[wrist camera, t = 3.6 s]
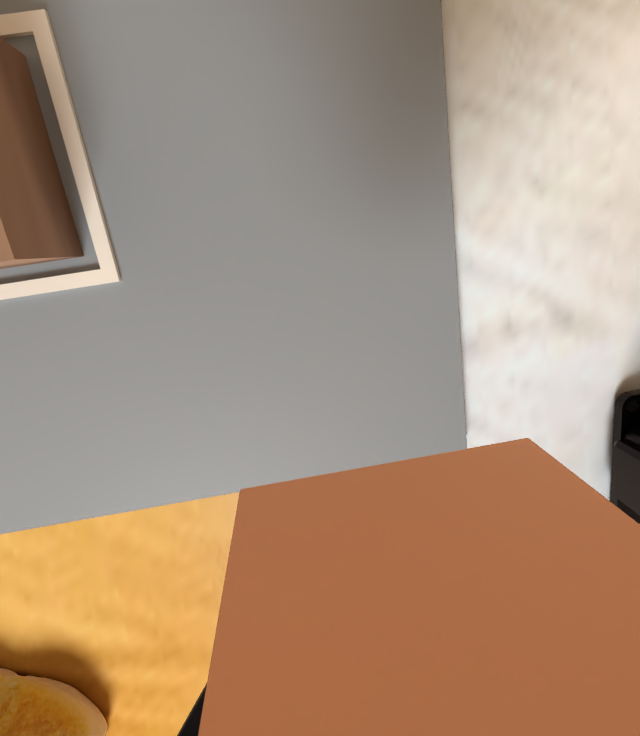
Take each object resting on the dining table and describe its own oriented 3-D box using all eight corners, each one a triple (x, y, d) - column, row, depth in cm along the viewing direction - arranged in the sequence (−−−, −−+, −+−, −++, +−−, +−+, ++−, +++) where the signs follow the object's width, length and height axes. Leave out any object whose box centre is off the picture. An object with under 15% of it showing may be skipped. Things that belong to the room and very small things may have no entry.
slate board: (429, -66, 14) (438, -84, 13) (461, 445, 19) (469, 453, 18) (-293, 28, 13) (-329, 14, 12) (-56, 536, 18) (-72, 549, 17)
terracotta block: (528, 438, 7) (976, 784, 3) (531, 658, 9) (826, 1147, 4) (240, 489, 7) (157, 965, 2) (290, 706, 9) (300, 1280, 4)
